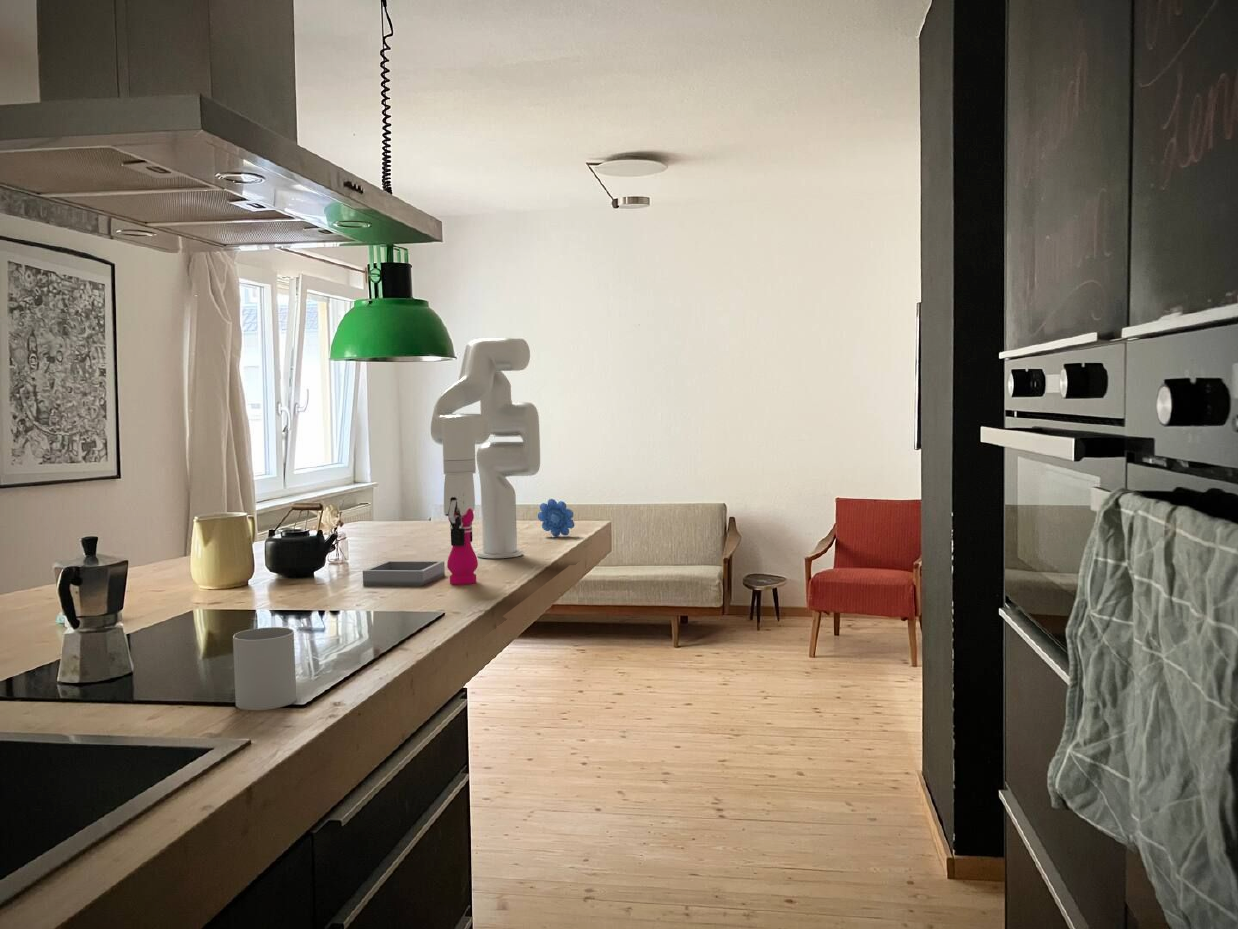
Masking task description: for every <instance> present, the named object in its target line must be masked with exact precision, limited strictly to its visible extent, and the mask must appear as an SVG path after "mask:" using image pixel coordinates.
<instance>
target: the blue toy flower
mask: <svg viewBox="0 0 1238 929" xmlns="http://www.w3.org/2000/svg"><path fill="white" fill-rule="evenodd" d="M567 507H568V506H567V504H566V503H565V501H562V500H560V501H558V502H557V500H555V499H553V498H549V499H548V500H547V503H545V502H541V504H540V505H539V509H540V511H541V512H538V514H537V519H538V520H539V522H542V523H541V527H542V530H544V531H545V532H550V534H551V535H552V536H553V537H556V536H557V537H559V536H560V535H562V536H568V535H569V534H570V529H571V530H572V529H573V528H575V522H574V520H573V518H574V512H573V510H571V509H569V508H567Z"/></svg>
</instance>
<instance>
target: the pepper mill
mask: <svg viewBox="0 0 1238 929" xmlns="http://www.w3.org/2000/svg"><path fill="white" fill-rule="evenodd" d="M456 515H460V514H459V513H456ZM447 518H448V522H450V519H449V517H448V516H447ZM474 519H475V514H474V511H472V509H471V508H470V509H468V511H467V514H466V515H464V516H463V529H464V532H465V545H464V546H452V547H451V550H450V552H449V554H448V558H447V564H446V567H447V569H448V570H449V572H451V574H450V575H449V583H450V584H451V585H455V586H460V585H463V586H465V585H472V584H475V583H476V582H477V574H475V571H476V570H477V568H478V566H479V562H478V558H477V557H478V556H477V555H476V552H475V551H474V549H473V546H472V542H471V541H470V532H472V533H473V525H470V524H471V522H472V523H473V521H474ZM458 520H459V522H460V518H458Z"/></svg>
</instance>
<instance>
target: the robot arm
mask: <svg viewBox="0 0 1238 929" xmlns="http://www.w3.org/2000/svg"><path fill="white" fill-rule="evenodd" d="M462 358H463V359H462V363H461V368H460V374H459V376H458V381H456V382H454V384H452V385H451V386H450V387H448V388H447V389H446V390H445V391H444V392H443V393H442V394H441V395H440V396H439V398H438V399H437V401H436V402H435V405H434V408H433V412H432V416H431V421H430V422H431V423H430V435H431V436H430V437H431V438H432V440H433V442H434V443H436V444H437V445H442V456H443V457H442V460H443V463H442V465H443V466H442V467H443V474H444V481H443V482H444V484H443V515H444V516H445V517H447V518H448V517H449V519H450V521H449V523H450V524H449V528H450V546H452V547H453V546H464V545H465V532H464V529H463V516H464V515H466V514H467V511H468V509H470V508H471V509H472V511H473V512H474V511H475V510H476V508H475V507H476V500H475V499H476V494H475V483H474V474H476V471H477V469H478V474H479V483H480V502H481V503H480V505H481V507H480V508H481V533H482V534H481V536H482V541H481V542H482V550H481V549H480V550H479V551H477V553H476V554H477V555H476V557H478V558H481V559H510V558H516V557H521V556H522V555H523V554H524V552H523V551H524V550H522V549H520V548H518V542H517V541H518V537H517V536H518V534H517V531H518V530H517V505H516V504H517V503H516V502H517V501H516V500H517V499H516V491H515V488H514V486H513V485H512V484H511V483H510V481H509V480H508V479H507V477H528V476H529V477H531V476H534V475H537V474H538V472H539V471H540V468H541V467H540V466H541V440H540V438H541V437H540V436H541V435H540V419H539V418H540V416H539V412H538V409H537V407H536V406H535V405H534V404H533V403H532V402H527V401H519V402H518V401H514V402H513V401H512V400H513V399H512V390H511V389H512V384H511V383H510V381H509V379H508V377H507V376H506V375H505V373H504V372H509V371H510V372H511V371H515V372H517V371H523V370H526V369H527V367H528V365H529V363H530V358H531V351H530V346H529V344H528V343H527V341H526V340H525V339H524V338H512V337H503V338H501V337H500V338H499V337H497V338H478V339H473V340H471V341H470V342H468V343H467V344H466V346H465V350H464V354H463V357H462ZM477 402H480V413H456V411H458V410H460V409H462V408H465V407H467V406H470V405H473V404H475V403H477ZM490 437H493V438H507V437H508V438H513V437H518V438H521V440H522V441H492V442H486V441H488V440H489V438H490ZM485 442H486V443H485ZM476 445H480V446H479V448H478V449H477V451H476ZM476 464H477V465H476ZM476 466H477V469H476ZM456 513H459V514H460V515H456ZM458 518H460V522H459V520H458ZM449 519H448V520H449ZM470 525H471V526H473V521H472V522H471V524H470ZM470 541H471V543H472V542H473V531H472V532H470Z"/></svg>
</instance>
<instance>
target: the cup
mask: <svg viewBox="0 0 1238 929" xmlns="http://www.w3.org/2000/svg"><path fill="white" fill-rule="evenodd" d="M232 646H233V647H232V648H233V649H232V650H233V673H234V674H233V675H234V691H235V692H234V694H235V707H237V708H238V709H240V710H244V711H267V710H273V709H278V708H279V709H280V708H283V707H286V706H289V705H292V704H293V703H295V702H296V701H297V676H296V673H297V672H296V654H295V651H296V650H295V632H294V629H292V628H289V627H278V626H276V627H275V626H273V627H269V626H268V627H259V628H251V629H247V630H242V631H239V632H237V633H234V634H233V636H232Z"/></svg>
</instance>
